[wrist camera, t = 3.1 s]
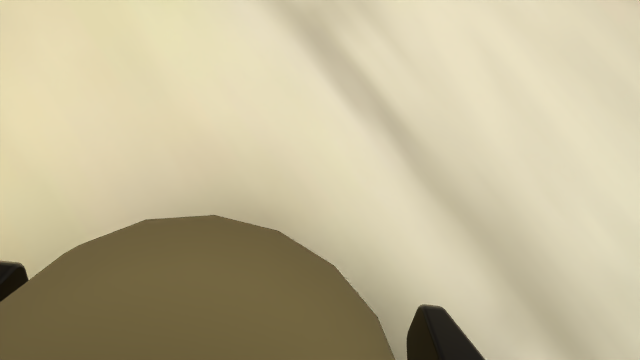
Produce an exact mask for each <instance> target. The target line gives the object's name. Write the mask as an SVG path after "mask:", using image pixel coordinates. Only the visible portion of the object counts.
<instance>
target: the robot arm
mask: <svg viewBox="0 0 640 360" xmlns="http://www.w3.org/2000/svg"><path fill="white" fill-rule="evenodd" d="M27 281H29V280H28V277H27V274H26V270H25V268H24V266H23V265H22V264H21V263H17V262H7V261H0V302H1V301H2V300H4V299H5V298H6V297H8V296H9V295H10V294H12V293H13V292H14V291H16V290H17V289H18V288H20V287H21V286H22V285H24V284H25V283H26V282H27ZM407 360H485V359H484V358H483V356H482V355H481V354H480V353H479V351H478V350H477V349H476V348H475V346H474V345H473V344H472V343H471V341H470V340H469V339H468V338H467V336H466V335H465V334H464V333H463V331H462V330H461V329H460V328H459V327H458V325H457V324H456V323H455V322H454V320H453V319H452V318H451V317H450V315H449V314H448V313H447V312H446V310H445V309H443V308H442V307H440V306H433V305H420V306H419V307H418V309H417V311H416V313H415V316H414V318H413V321H412V323H411V326H410V328H409V331H408V334H407Z"/></svg>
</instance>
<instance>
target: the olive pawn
mask: <svg viewBox="0 0 640 360" xmlns="http://www.w3.org/2000/svg"><path fill="white" fill-rule="evenodd" d="M0 360H395V358H394V356H393V354H392V351H391V349H390V346H389V344H388V342H387V339H386V337H385V334H384V332H383V329H382V327H381V325H380V322H379V320H378V317H377V316H376V315H375V314H374V313H373V311H372V310H371V309H370V308H369V307H368V305H367V304H366V303H365V302H364V301H363V299H362V298H361V297H360V296H359V295H358V293H357V292H356V291H355V290H354V289H353V288H352V286H351V285H350V284H349V283H348V282H347V280H346V279H345V278H344V277H343V276H342V274H341V273H340V272H339V271H338V270H337V268H336V267H335V266H334V265H332V264H331V263H329V262H327V261H326V260H324V259H323V258H321V257H319V256H318V255H316V254H315V253H313V252H311V251H310V250H308V249H307V248H305V247H303V246H302V245H300V244H299V243H297V242H295V241H294V240H292V239H291V238H289V237H287V236H286V235H284V234H283V233H281V232H279V231H276V230H272V229H268V228H264V227H260V226H256V225H252V224H248V223H244V222H240V221H236V220H232V219H228V218H224V217H220V216H216V215H210V216H195V217H180V218H165V219H150V220H144V221H141V222H139V223H136V224H133V225H131V226H128V227H126V228H123V229H120V230H118V231H115V232H112V233H110V234H107V235H105V236H102V237H99V238H97V239H94V240H92V241H89V242H86V243H84V244H81V245H78V246H77V247H75V248H73V249H71V250H70V251H68V252H66V253H65V254H63V255H62V256H60V257H59V258H58V259H56V260H55V261H54V262H52V263H51V264H50V265H49V266H47V267H46V268H45V269H43V270H42V271H41V272H39V273H38V274H37V275H35V276H34V277H33V278H31V279H30V280H29V281H27V282H26V283H25V284H24V285H22V286H21V287H20V288H18V289H17V290H16V291H14V292H13V293H12V294H10V295H9V296H8V297H6V298H5V299H4V300H2V301H1V302H0Z"/></svg>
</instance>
